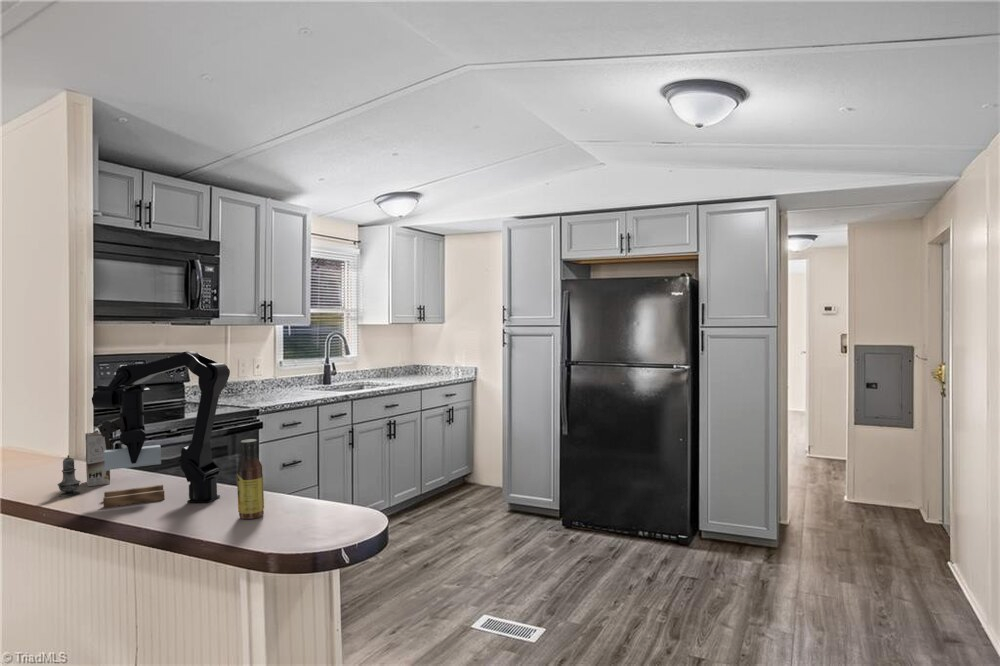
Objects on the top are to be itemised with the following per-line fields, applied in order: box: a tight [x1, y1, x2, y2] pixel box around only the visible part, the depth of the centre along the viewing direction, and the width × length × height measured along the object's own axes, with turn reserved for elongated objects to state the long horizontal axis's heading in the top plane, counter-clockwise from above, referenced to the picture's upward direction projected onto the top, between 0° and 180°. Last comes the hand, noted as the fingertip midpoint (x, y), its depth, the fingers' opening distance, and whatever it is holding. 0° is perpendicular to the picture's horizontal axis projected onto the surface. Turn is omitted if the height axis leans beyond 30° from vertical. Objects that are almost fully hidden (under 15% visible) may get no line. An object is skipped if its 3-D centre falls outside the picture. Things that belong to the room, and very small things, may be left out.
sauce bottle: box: [236, 438, 265, 520], centre depth 166 cm, size 6×6×20 cm
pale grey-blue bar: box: [104, 444, 162, 471], centre depth 186 cm, size 14×4×5 cm, turn 120°
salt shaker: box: [56, 454, 82, 498], centre depth 195 cm, size 6×6×12 cm
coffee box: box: [84, 431, 111, 487], centre depth 210 cm, size 9×6×16 cm
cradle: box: [102, 484, 165, 509], centre depth 186 cm, size 15×9×2 cm, turn 120°
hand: (133, 462), depth 186 cm, fingers closed on pale grey-blue bar, 4 cm apart
